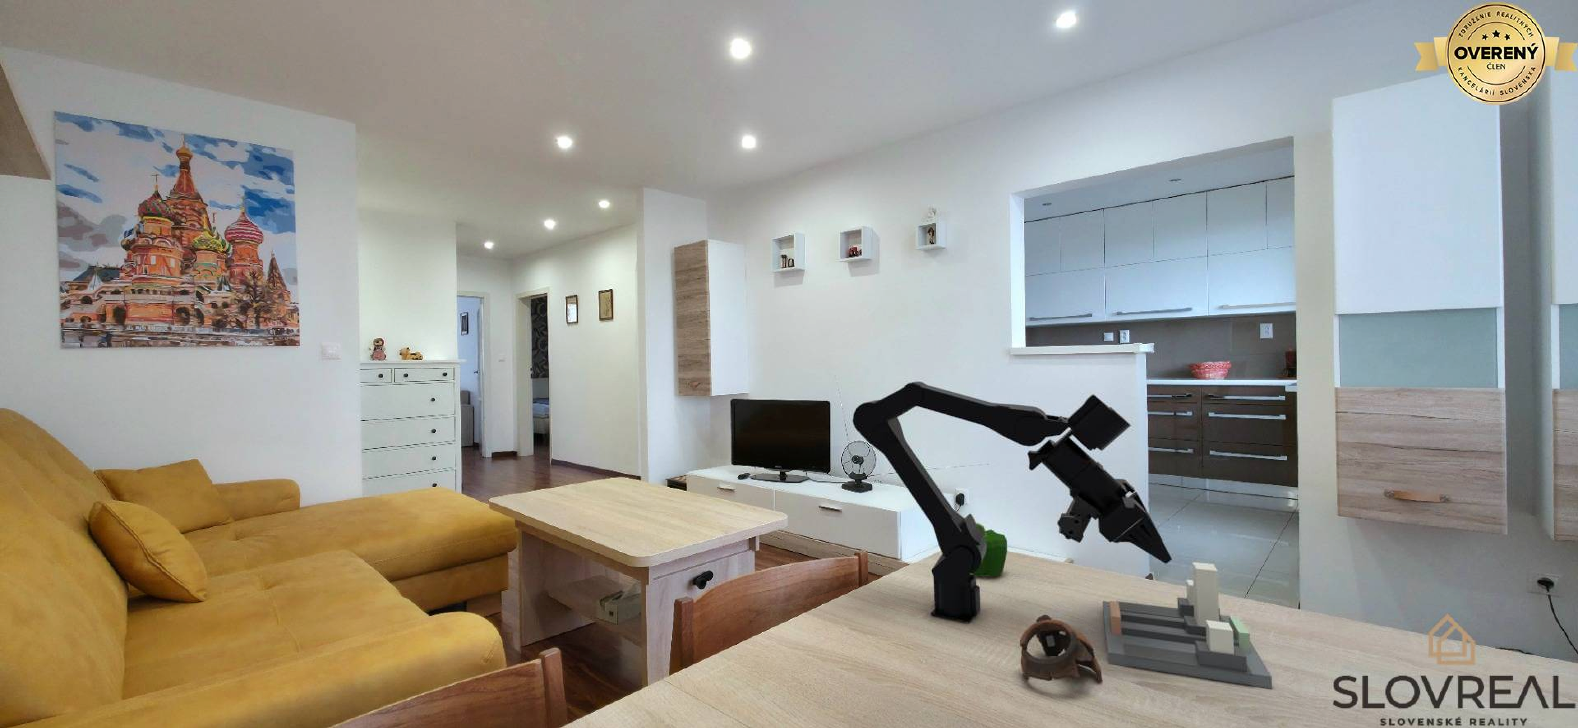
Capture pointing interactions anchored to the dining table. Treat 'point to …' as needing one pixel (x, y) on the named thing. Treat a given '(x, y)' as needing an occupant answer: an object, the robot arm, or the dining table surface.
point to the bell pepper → (992, 554)
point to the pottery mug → (1057, 651)
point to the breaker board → (1182, 643)
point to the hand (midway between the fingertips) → (1164, 551)
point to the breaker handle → (1203, 599)
